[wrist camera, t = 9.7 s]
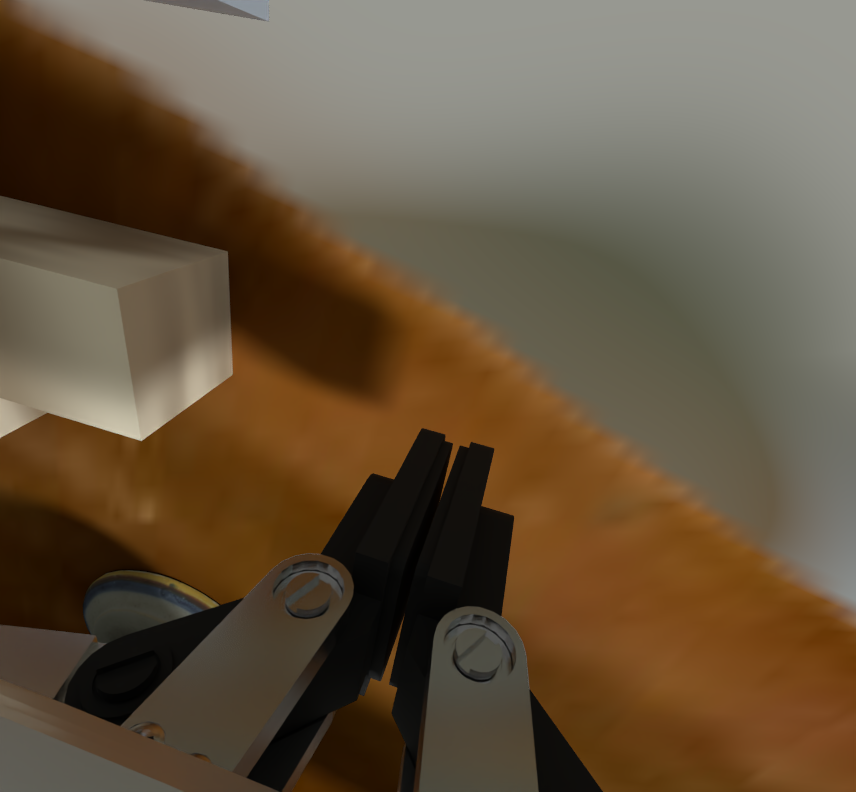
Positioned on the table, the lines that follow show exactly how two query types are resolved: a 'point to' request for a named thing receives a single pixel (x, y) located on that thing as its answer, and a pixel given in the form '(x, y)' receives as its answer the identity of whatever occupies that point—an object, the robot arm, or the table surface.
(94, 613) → the apothecary jar
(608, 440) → the table surface
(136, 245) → the t block
